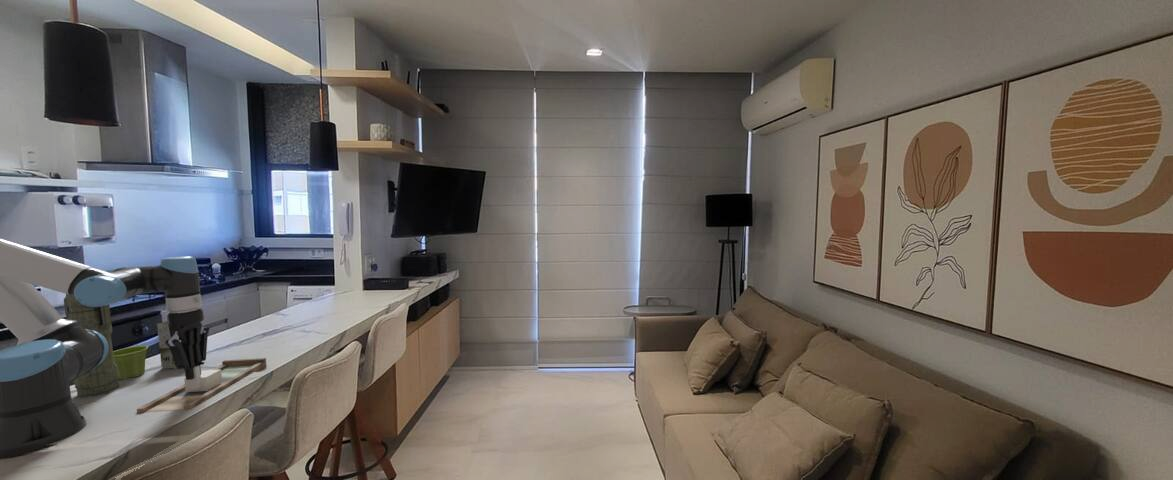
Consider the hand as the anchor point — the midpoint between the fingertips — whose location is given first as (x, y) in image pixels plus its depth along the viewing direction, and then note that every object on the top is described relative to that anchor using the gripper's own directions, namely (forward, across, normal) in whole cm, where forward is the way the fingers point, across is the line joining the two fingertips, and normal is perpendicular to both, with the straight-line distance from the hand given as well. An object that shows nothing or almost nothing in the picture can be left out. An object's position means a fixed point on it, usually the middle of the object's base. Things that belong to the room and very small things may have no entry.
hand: (195, 388), depth 128 cm
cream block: (+2, +4, 0) cm, 4 cm away
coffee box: (+3, +30, +27) cm, 40 cm away
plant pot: (+3, +21, +36) cm, 41 cm away
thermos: (+3, +9, +34) cm, 36 cm away
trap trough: (+3, +6, 0) cm, 6 cm away
